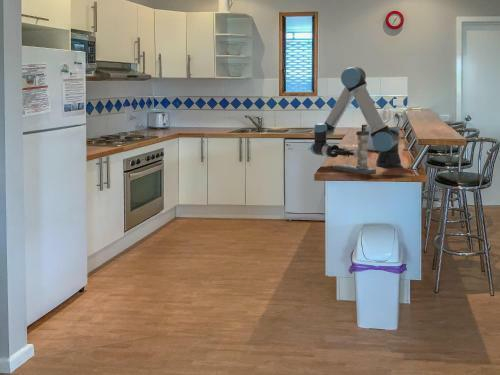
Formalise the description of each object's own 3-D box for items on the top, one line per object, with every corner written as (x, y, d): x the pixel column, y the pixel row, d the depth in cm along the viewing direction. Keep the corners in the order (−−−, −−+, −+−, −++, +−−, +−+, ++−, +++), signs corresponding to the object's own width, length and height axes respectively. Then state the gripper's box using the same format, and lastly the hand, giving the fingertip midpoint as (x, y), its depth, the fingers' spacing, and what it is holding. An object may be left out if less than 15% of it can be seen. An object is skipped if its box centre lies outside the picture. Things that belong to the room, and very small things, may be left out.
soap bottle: (370, 148, 526) (371, 114, 522) (381, 149, 521) (382, 115, 517) (364, 150, 520) (365, 115, 515) (375, 151, 514) (376, 115, 510)
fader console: (333, 169, 427) (333, 165, 427) (344, 167, 433) (344, 164, 432) (364, 174, 407) (364, 170, 406) (375, 172, 412) (376, 168, 411)
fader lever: (355, 168, 415) (356, 131, 411) (362, 167, 418) (362, 131, 414) (362, 169, 411) (362, 132, 407) (368, 168, 414) (368, 131, 410)
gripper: (338, 155, 439) (366, 159, 420) (322, 157, 431) (350, 161, 412) (339, 143, 437) (366, 147, 418) (323, 145, 430) (350, 148, 411)
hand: (358, 154), depth 415 cm, fingers closed
